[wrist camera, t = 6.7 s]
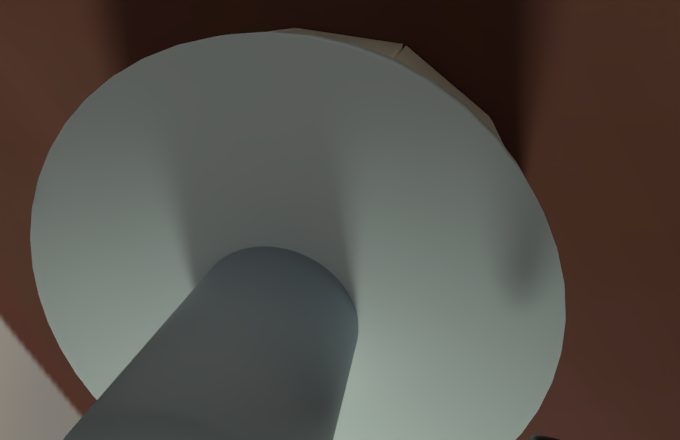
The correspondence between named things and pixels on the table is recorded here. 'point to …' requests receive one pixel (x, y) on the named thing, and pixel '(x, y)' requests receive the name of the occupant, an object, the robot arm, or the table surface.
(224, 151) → the lid
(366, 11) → the table surface
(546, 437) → the robot arm
